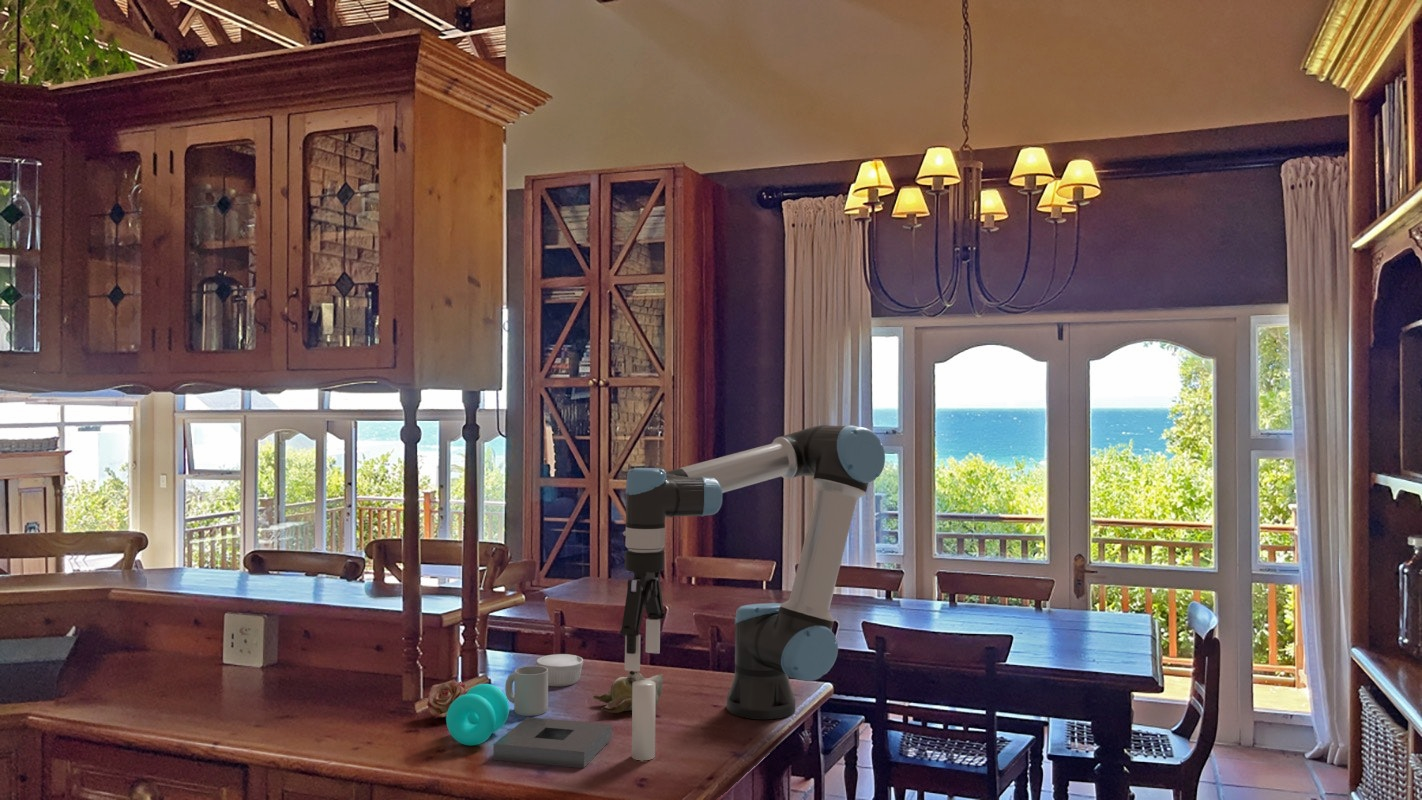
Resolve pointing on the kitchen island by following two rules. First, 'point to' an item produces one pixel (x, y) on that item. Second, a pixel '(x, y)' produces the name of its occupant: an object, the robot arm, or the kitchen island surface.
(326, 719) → the kitchen island surface
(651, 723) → the white tapered capsule
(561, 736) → the block
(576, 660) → the ramekin
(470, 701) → the turquoise yo-yo
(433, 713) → the flower
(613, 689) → the ceramic sculpture
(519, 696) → the cup
